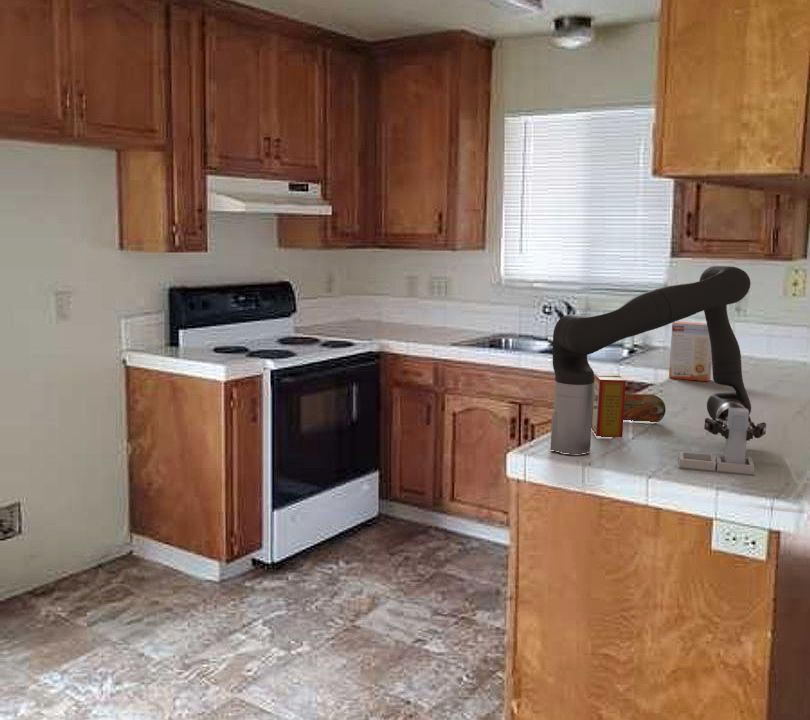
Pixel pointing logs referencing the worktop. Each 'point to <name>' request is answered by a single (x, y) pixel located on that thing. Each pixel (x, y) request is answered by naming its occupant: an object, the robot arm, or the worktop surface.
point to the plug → (736, 435)
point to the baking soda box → (608, 405)
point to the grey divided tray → (713, 464)
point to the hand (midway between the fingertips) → (737, 435)
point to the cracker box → (690, 352)
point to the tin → (643, 407)
